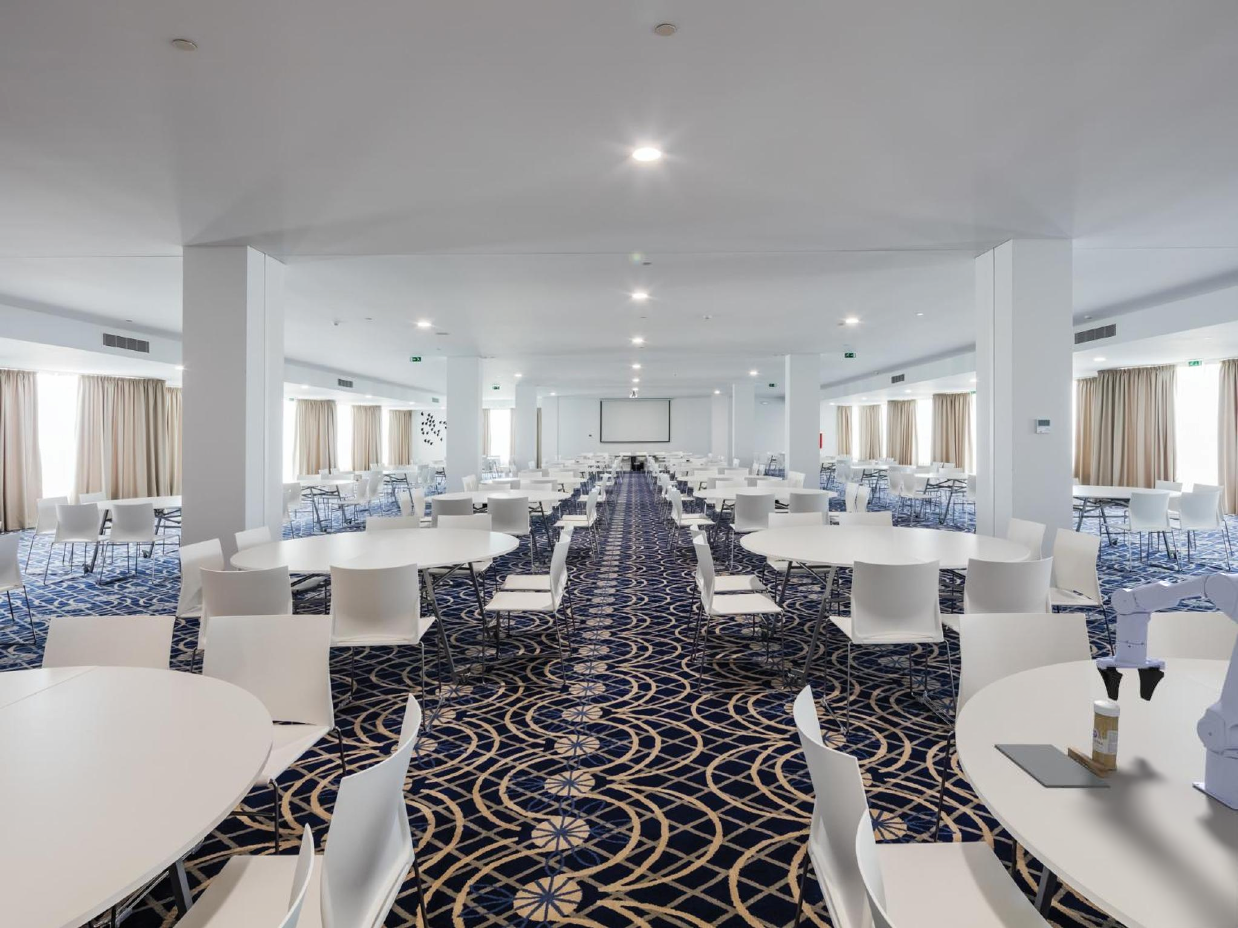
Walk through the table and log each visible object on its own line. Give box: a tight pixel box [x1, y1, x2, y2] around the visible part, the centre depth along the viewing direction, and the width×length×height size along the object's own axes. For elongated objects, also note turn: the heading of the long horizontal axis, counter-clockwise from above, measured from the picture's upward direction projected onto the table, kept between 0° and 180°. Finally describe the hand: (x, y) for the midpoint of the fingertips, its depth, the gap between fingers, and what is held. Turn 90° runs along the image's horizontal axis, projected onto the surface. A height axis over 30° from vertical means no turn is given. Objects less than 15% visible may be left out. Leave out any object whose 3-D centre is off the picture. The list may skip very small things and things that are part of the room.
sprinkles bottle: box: [1091, 700, 1121, 771], centre depth 146 cm, size 5×5×13 cm
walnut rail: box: [1067, 746, 1109, 778], centre depth 146 cm, size 10×2×2 cm, turn 1°
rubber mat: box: [994, 743, 1111, 788], centre depth 146 cm, size 18×13×1 cm
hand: (1129, 699), depth 158 cm, fingers open, 7 cm apart
